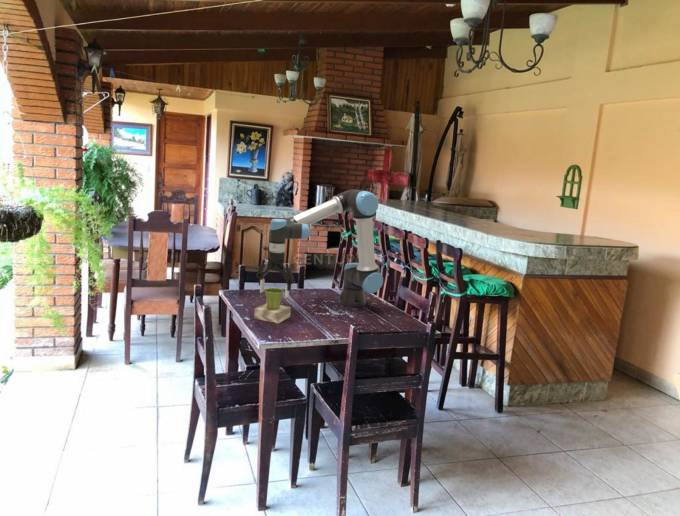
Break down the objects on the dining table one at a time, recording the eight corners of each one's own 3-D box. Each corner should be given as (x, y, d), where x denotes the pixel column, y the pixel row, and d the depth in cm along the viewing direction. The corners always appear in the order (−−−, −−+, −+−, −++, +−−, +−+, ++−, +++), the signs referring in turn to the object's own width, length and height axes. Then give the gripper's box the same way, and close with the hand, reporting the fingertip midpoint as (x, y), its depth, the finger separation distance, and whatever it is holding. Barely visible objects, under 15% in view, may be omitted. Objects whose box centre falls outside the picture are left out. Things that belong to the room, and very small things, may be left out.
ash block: (290, 316, 261) (290, 307, 260) (277, 323, 249) (278, 313, 248) (267, 312, 266) (267, 302, 265) (253, 318, 254) (254, 308, 253)
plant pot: (279, 311, 251) (280, 294, 250) (260, 308, 253) (261, 291, 251) (285, 306, 260) (286, 289, 259) (267, 304, 262) (268, 287, 260)
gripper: (249, 248, 252) (247, 291, 256) (297, 256, 244) (293, 300, 248) (257, 247, 259) (255, 288, 263) (303, 254, 251) (300, 297, 255)
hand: (274, 294), depth 255 cm, fingers open, 13 cm apart
